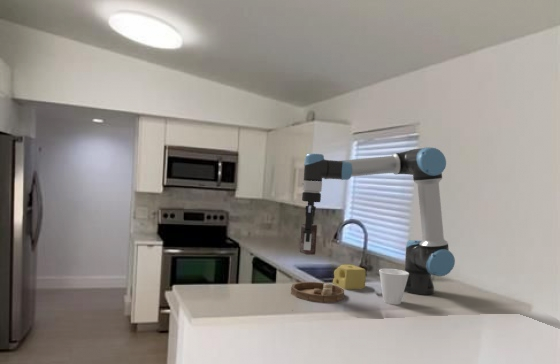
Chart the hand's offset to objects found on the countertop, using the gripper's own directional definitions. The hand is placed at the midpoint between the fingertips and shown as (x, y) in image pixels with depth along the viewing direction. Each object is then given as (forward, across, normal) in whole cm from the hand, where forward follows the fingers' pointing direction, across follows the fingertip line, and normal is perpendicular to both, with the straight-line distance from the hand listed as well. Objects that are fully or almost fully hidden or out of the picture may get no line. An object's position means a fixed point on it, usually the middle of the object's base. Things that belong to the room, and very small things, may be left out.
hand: (307, 248), depth 173 cm
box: (+2, 0, 0) cm, 2 cm away
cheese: (+20, -20, +18) cm, 33 cm away
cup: (+19, -5, +35) cm, 41 cm away
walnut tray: (+19, 0, +5) cm, 20 cm away
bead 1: (+18, -4, +9) cm, 21 cm away
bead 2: (+18, +4, +9) cm, 21 cm away
